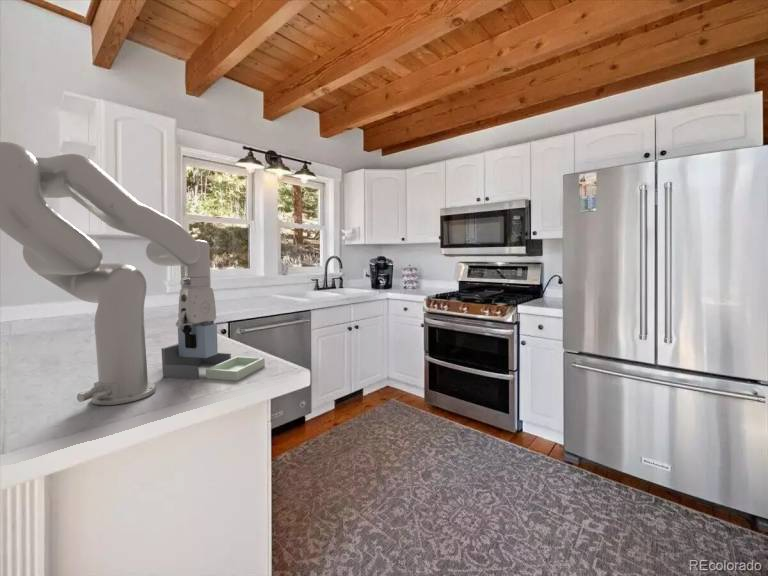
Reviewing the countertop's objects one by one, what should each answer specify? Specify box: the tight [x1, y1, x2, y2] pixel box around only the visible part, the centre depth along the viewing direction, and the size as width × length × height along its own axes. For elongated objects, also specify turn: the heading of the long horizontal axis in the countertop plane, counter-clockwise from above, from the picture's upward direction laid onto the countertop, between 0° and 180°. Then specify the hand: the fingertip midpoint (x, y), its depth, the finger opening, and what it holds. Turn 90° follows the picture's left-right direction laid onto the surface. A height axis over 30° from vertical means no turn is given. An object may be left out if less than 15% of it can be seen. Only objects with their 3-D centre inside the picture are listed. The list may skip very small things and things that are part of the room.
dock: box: [161, 343, 232, 380], centre depth 107 cm, size 15×11×8 cm
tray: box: [205, 355, 266, 382], centre depth 106 cm, size 14×10×2 cm
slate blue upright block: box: [177, 321, 219, 358], centre depth 106 cm, size 5×9×10 cm, turn 77°
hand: (198, 345), depth 106 cm, fingers closed on slate blue upright block, 5 cm apart
